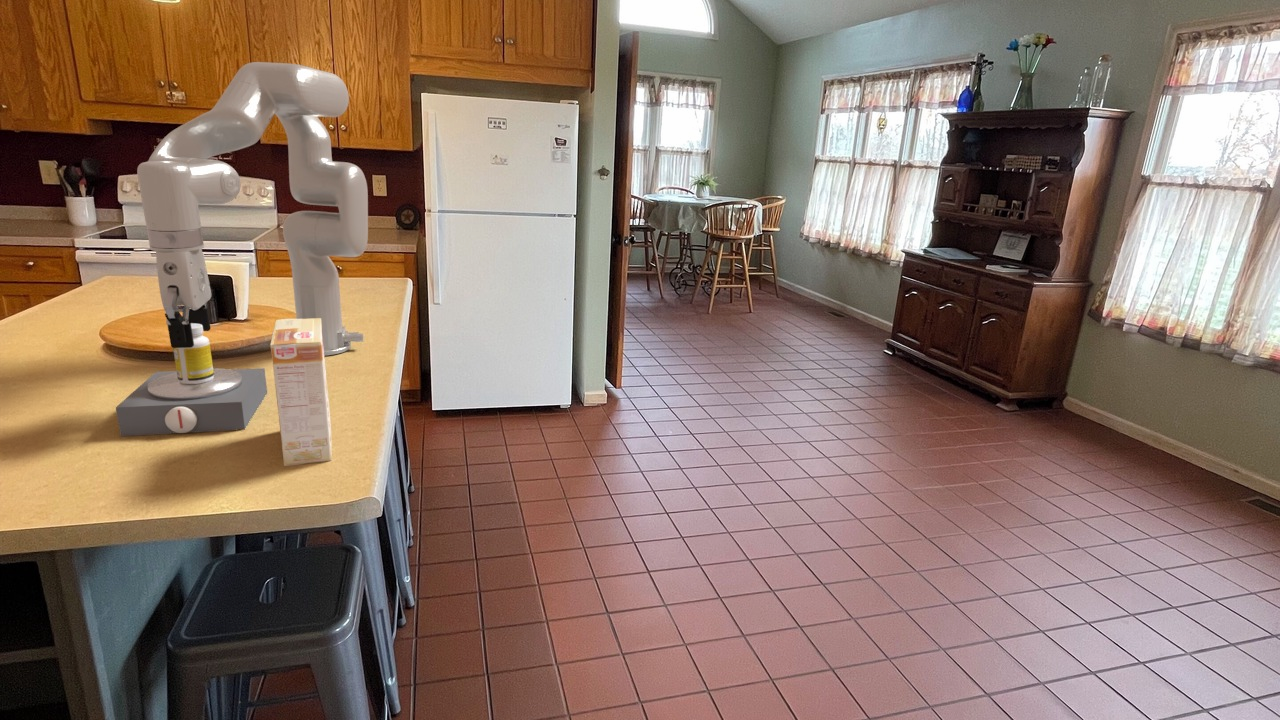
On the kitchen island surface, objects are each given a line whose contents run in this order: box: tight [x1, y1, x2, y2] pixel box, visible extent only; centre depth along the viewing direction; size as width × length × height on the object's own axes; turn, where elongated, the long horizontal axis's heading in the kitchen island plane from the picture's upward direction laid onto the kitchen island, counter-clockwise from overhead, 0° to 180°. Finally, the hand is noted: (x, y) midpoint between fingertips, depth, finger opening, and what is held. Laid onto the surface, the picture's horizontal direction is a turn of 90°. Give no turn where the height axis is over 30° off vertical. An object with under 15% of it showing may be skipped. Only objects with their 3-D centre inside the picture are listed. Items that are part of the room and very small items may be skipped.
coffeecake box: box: [269, 318, 333, 467], centre depth 111 cm, size 15×7×20 cm, turn 23°
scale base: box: [115, 368, 268, 437], centre depth 123 cm, size 18×19×5 cm
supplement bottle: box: [172, 323, 214, 384], centre depth 121 cm, size 5×5×10 cm
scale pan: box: [147, 367, 242, 400], centre depth 122 cm, size 14×14×1 cm
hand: (191, 338), depth 120 cm, fingers open, 9 cm apart
